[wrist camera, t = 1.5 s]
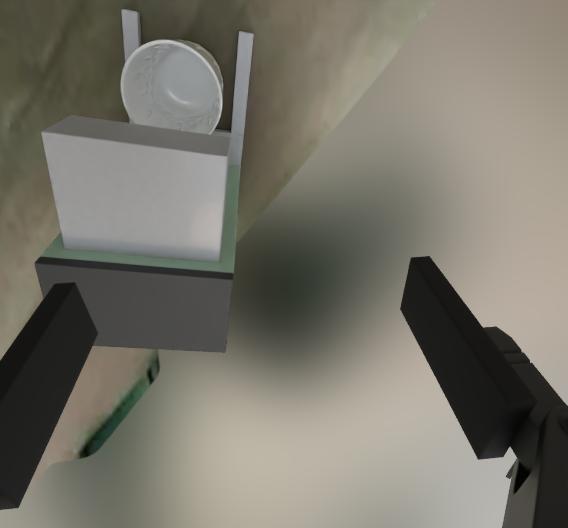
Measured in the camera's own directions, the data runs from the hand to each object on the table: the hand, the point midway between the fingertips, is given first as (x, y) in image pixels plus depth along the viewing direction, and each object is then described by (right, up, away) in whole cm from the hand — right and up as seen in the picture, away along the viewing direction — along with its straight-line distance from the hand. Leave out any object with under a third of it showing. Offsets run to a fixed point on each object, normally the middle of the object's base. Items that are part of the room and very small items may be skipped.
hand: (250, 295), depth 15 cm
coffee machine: (-9, +16, +25) cm, 31 cm away
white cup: (-8, +20, +23) cm, 32 cm away
